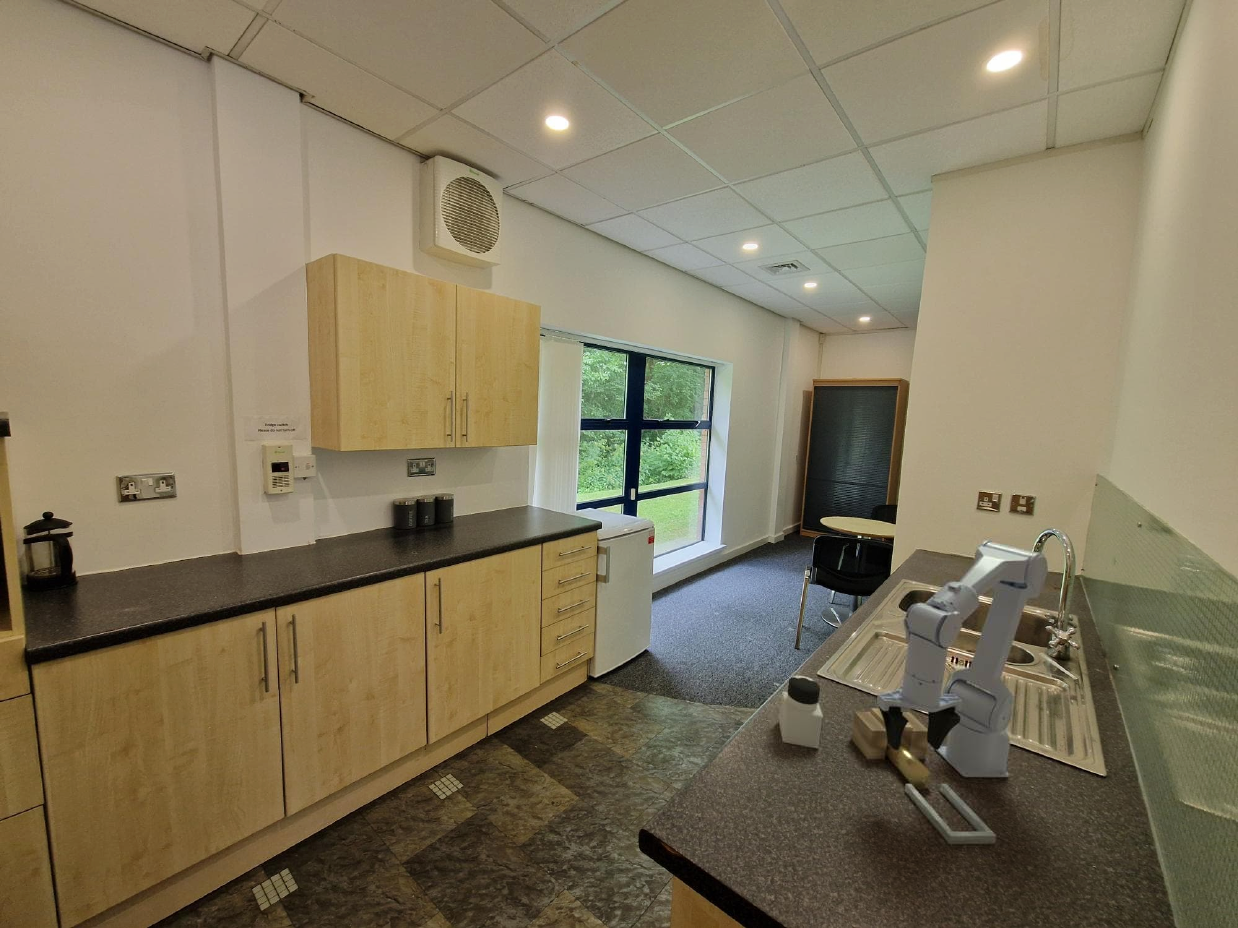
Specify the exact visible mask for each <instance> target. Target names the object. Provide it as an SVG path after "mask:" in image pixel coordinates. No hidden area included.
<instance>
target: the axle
mask: <svg viewBox="0 0 1238 928" xmlns="http://www.w3.org/2000/svg"><path fill="white" fill-rule="evenodd" d="M885 757H887V759H889V761H891V763H892V764H893V765H894V766H895V767H896V768H897V770H898V771H899V772H900V773H901V774H902V775H903V776H904V777H905V779H906V780H907V781H908V782H909V784H912V786H913V787H914V788H915V789H916V790H925V789H927V788H928V787H930V786H931V785H932V783H933V774H932V773H931V771H929V769H928V768H927V767H926V766H925V765H924V764H923V763H922V762H921V761H920V759H917V758H916V757H915V756H914V755H913V754H912V753H911V752H910V751H909V749H908V748H907V747H906V746H905V745H904V744H903V743H902V742H901V743H900V747H899V749H898V750H894V749H893V748H892V747H891V746H890V745H889V744H888V743H887V747H886V754H885Z"/></svg>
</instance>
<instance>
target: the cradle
mask: <svg viewBox="0 0 1238 928" xmlns="http://www.w3.org/2000/svg"><path fill="white" fill-rule="evenodd" d="M939 791H940V792H941V794H942V795H943V796H944V797H945V798H946V799H947V800H948V801H949V802H950V804H952V805H953V807H954V808H955V809H956V810H957V811H958V812H959V813H960V814H961V815H962V816H963V817H964V818H965V820H966V821H968V823H969V824H970V825H971V826H972V827H973V828H974V829H975V830H976V831H953V830H952V829H951V828H950V827H949V826H948V824H946V822H945V821H944V820H943V819H942V818H941V817H940V816H939V814H938V813H937V812H936V811H935V809H934V808H933V807H932V806H931V805H930V804H929V803H928V802H927V801H926V800H925V798H924V797H923V796H922V795H921V794H920V793H919V790H918V789H916V788H914V787H913V785H912V784H911V783H905V786H904V792H905V793H906V794H907V795H908V797H909V798H910V799H911V800H912V802H913V803H914V804H915V805H916V807H917V808H918V809H919V810H920V811H921V812H922V813H923V814H924V816H925V817H926V818H927V820H929V822H930V823H931V824H932V825H933V826H934V828H935V829H936V831H938V832H939V833H940V835H941V836H942V837H943V839H945V841H946V842H947V843H948V844H949V845H974V844H975V845H977V844H978V845H979V844H980V845H981V844H985V845H986V844H987V845H989V844H990V845H991V844H996V841H997V839H996V838H997V834H995V833H994V832H993V830H991V829H990V827H988V826H987V825H986V824H985V822H984V821H982V819H981V818H980V817H979V816H978V815H977V814H976V813H975V812H974V811H973V810H972V809H971V807H969V806H968V805H967V804H966V803H965V802H964V800H963V799H961V797H959V796H958V794H957V793H956V792H955V791H954V790H953V789H952V788H951V787H950V786H949V785H948V783H940V789H939Z"/></svg>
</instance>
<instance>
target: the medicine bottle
mask: <svg viewBox="0 0 1238 928" xmlns="http://www.w3.org/2000/svg"><path fill="white" fill-rule="evenodd" d="M820 692H821V688H820V685H819V684H818V682H817V681H815V680H814V679H812V678H810V677H807V676H804V675H793V676H791V677H789V679H788V685H787V691H782V692H781V698H780V707H779V714H778V715H779V716H778V723H779V728H780V729H779V730H780V735H781V739H782V742H783V743H787V744H791V745H796V746H801V747H806V748H813V749H817V750H819V749H820V746H821V738H822V732H823V731H822V729H823V722H824V715H823V712H822V710H821V706H820V703H819V701H820Z"/></svg>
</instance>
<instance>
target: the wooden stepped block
mask: <svg viewBox="0 0 1238 928" xmlns="http://www.w3.org/2000/svg"><path fill="white" fill-rule="evenodd" d="M902 712H903V711H902ZM902 715H903V716H904V717H905V718H906V719H907V720H908V721H909V722H908V723H907V724H906V726H905V728H904V730H903V733H902V737H901V742H902V743H903V744H904V745H905V746H906V747H907V748H908V749H909V751H910V752H911V753H912V754H913V755H914V756H915V757H916V758H917V759H918V760H926V756H927V751H928V744H929V743H928V742H927V731H928V727H925V725H924V724H922V722H920V721H919V720H918V719H917V718H916V717H915V716H914V715H913V714H912V713H911V712H909V711H904V712H903V714H902ZM850 737H851V740H852V741H853V742H854V744H855V745H856V746H857V748H858V749H859V750H860V751H861V753H863V755H864V756H865V757H866V759H867V760H885V759H886V747H887V734H886V728H885V723H884V720H883V717H882V714H881V711H880V709H879V707H877V708H876V707H873V708H870V711H854V715H853V722H852V729H851V736H850Z"/></svg>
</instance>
